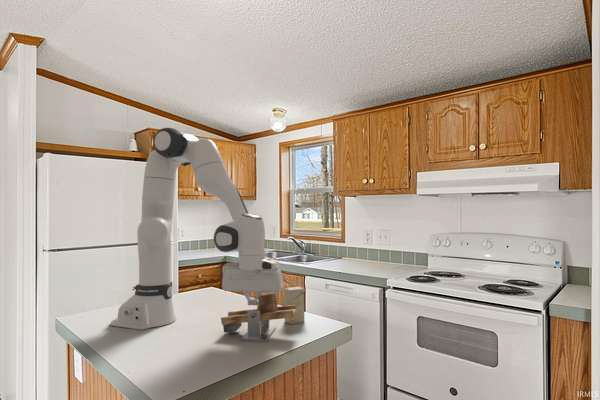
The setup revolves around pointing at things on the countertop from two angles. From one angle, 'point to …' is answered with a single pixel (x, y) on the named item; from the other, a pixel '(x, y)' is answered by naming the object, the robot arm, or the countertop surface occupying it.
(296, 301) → the skincare box
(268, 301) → the block
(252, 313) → the pivot stand
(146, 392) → the countertop surface
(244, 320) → the beam
